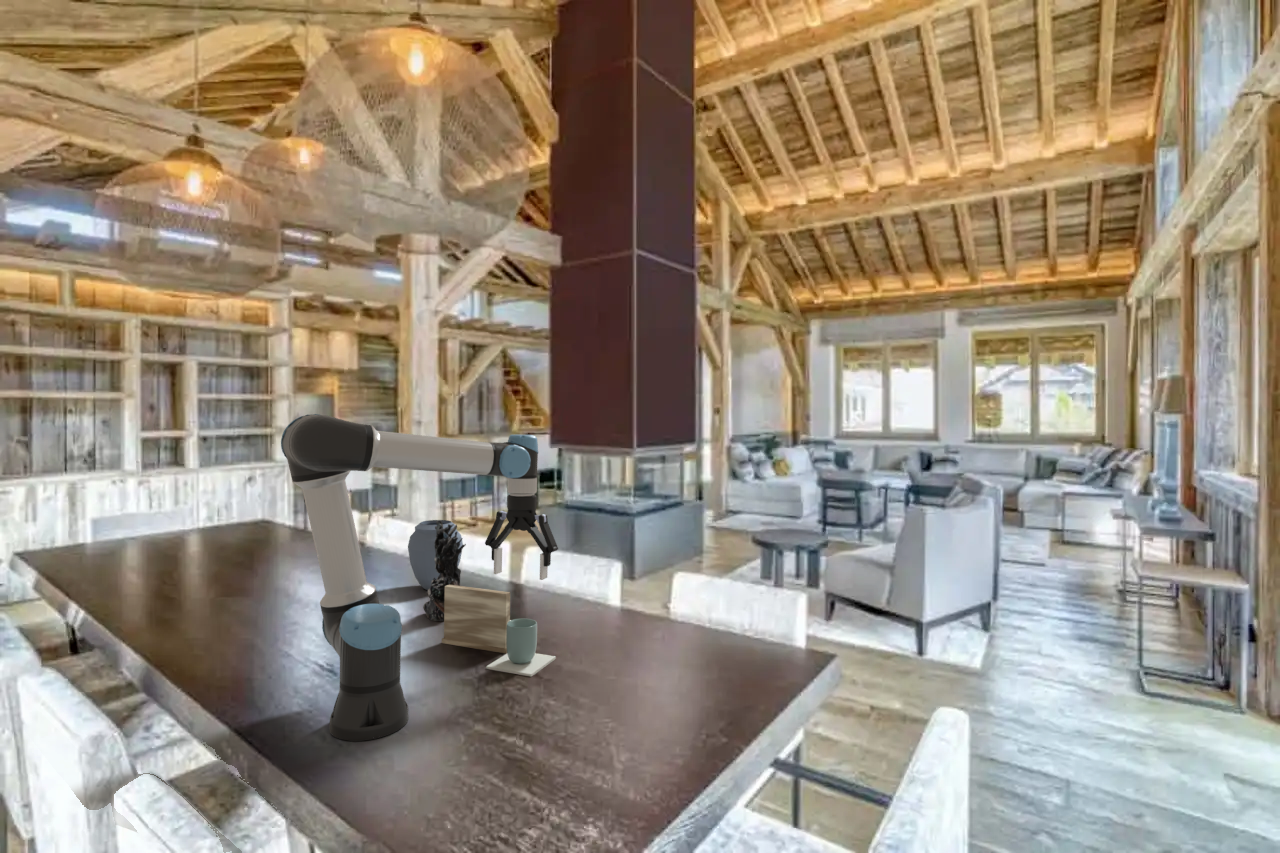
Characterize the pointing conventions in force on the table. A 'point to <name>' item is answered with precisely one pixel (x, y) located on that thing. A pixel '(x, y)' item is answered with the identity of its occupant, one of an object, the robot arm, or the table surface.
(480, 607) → the wooden board
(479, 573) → the table surface
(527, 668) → the pad
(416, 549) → the vase
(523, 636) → the cup
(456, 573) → the sculpture
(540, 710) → the table surface
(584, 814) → the table surface
